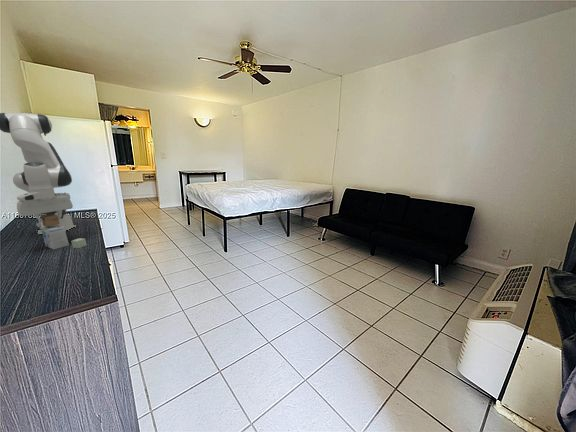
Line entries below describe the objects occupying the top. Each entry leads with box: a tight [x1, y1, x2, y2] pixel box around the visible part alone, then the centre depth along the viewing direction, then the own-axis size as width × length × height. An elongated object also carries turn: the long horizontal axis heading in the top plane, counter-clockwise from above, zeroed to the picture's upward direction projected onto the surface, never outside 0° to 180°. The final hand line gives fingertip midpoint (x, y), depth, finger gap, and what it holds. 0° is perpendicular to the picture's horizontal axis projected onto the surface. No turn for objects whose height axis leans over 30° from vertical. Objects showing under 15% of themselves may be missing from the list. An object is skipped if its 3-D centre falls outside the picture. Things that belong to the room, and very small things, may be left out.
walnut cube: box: [40, 214, 60, 227], centre depth 123 cm, size 5×5×5 cm
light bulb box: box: [41, 225, 70, 250], centre depth 125 cm, size 11×7×11 cm, turn 62°
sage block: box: [71, 237, 88, 249], centre depth 124 cm, size 4×4×4 cm
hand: (50, 220), depth 123 cm, fingers open, 5 cm apart
